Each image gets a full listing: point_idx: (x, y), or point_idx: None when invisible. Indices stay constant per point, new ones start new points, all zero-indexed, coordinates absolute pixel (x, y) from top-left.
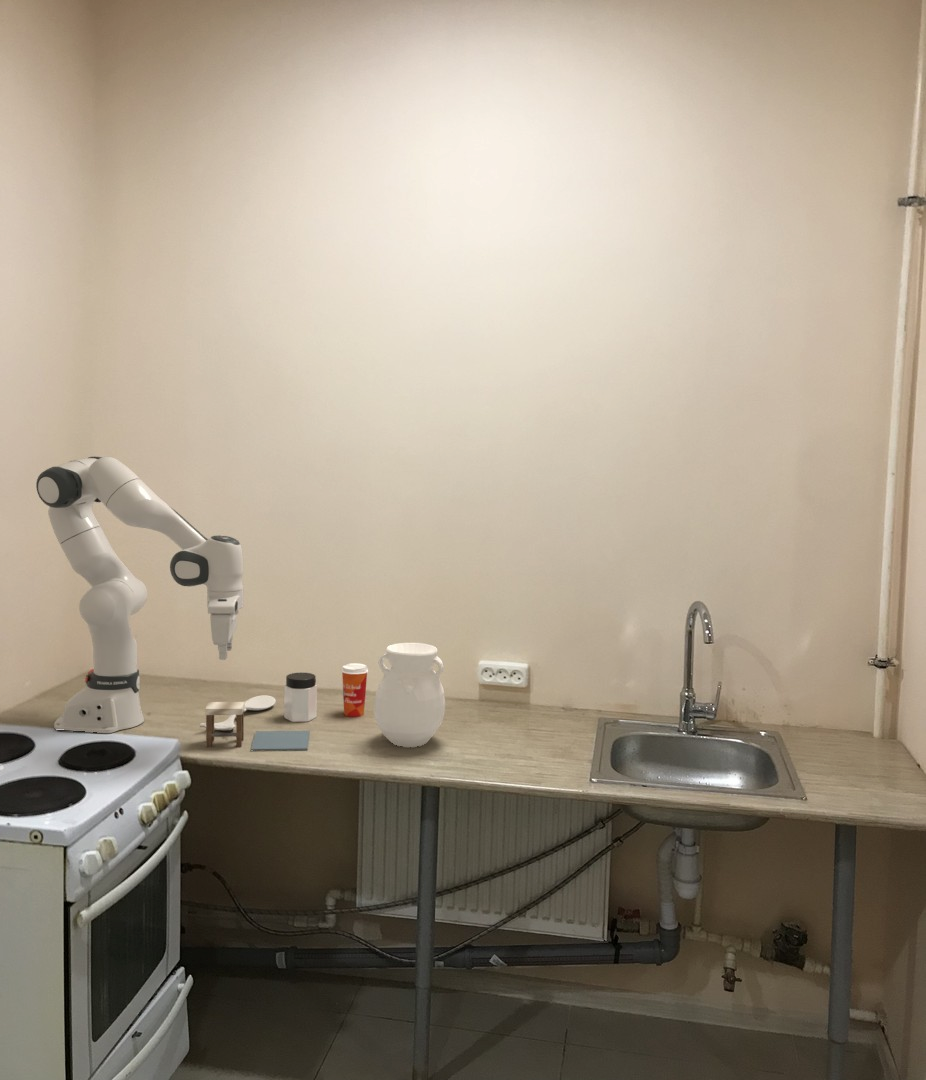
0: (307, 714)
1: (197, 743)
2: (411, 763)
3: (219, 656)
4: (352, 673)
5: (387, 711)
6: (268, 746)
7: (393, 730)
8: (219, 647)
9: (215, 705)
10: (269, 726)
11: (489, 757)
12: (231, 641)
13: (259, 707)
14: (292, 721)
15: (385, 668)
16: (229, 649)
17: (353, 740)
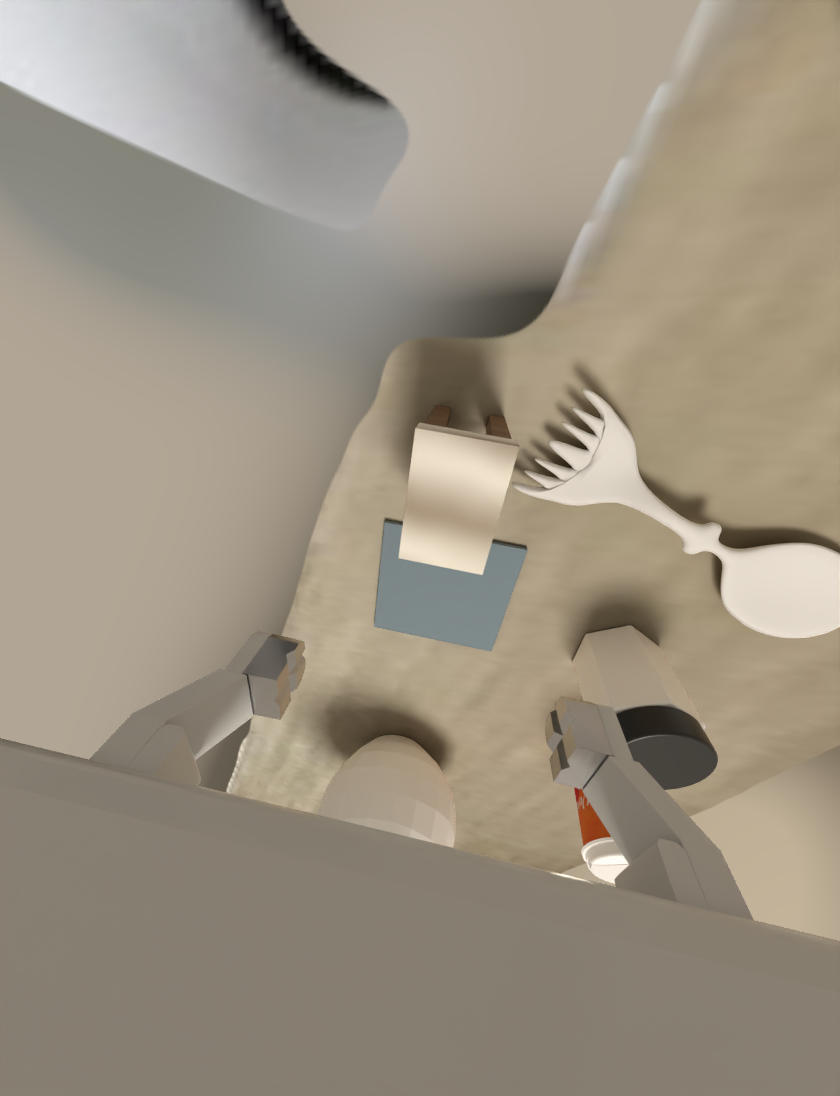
0: (576, 674)
1: (481, 376)
2: (299, 728)
3: (245, 645)
4: (588, 845)
5: (336, 795)
6: (398, 561)
7: (346, 761)
8: (143, 718)
9: (457, 472)
10: (572, 583)
11: (320, 793)
12: (597, 807)
13: (725, 588)
14: (585, 634)
15: None
16: (549, 726)
17: (420, 697)
